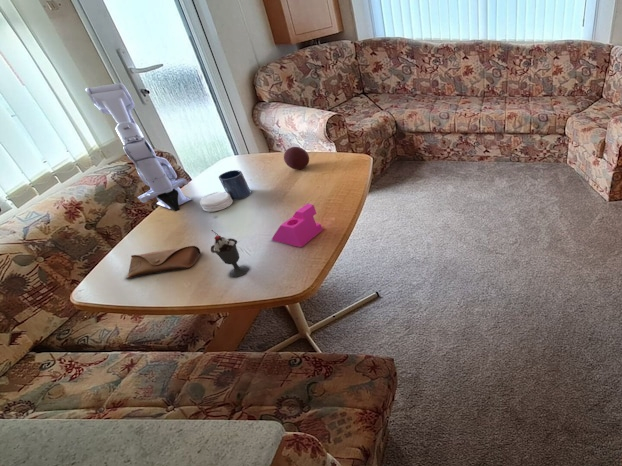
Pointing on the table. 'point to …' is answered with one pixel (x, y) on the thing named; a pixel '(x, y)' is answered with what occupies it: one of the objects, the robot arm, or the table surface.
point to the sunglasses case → (163, 261)
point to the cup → (235, 184)
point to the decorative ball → (296, 158)
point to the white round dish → (216, 201)
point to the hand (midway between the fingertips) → (176, 210)
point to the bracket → (299, 227)
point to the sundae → (228, 254)
